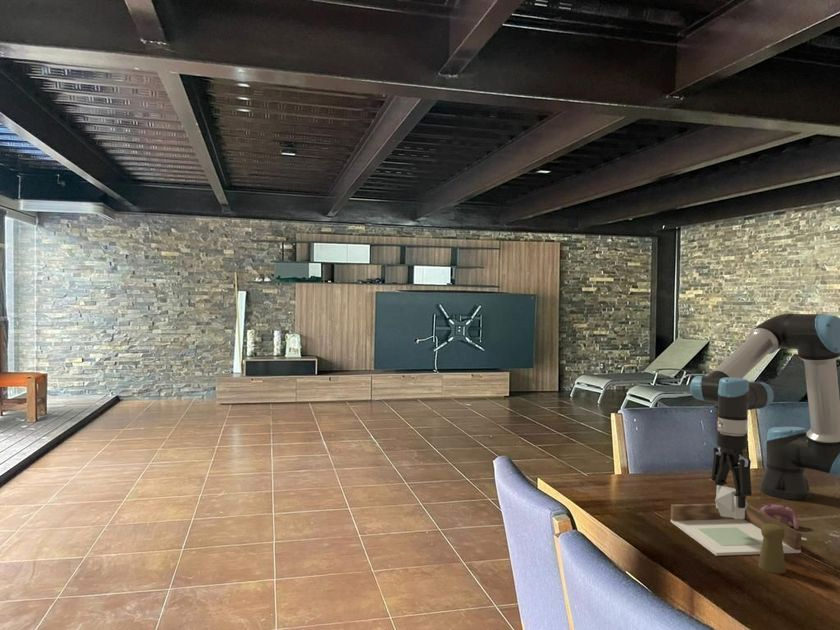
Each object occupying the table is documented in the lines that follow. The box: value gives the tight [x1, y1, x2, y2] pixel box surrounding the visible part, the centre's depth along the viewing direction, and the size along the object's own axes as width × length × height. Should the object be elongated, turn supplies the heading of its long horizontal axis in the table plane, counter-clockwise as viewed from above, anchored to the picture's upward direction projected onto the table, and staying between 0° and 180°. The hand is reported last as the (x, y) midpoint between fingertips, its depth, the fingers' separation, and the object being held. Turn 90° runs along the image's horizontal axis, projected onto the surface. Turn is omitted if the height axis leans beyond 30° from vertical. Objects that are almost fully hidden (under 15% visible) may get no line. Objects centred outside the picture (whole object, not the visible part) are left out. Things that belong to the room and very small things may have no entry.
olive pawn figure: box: [757, 524, 786, 574], centre depth 153 cm, size 6×6×11 cm
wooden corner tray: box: [670, 502, 802, 557], centre depth 174 cm, size 24×24×5 cm
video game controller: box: [759, 504, 800, 531], centre depth 183 cm, size 10×5×7 cm, turn 72°
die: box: [714, 486, 749, 518], centre depth 171 cm, size 8×9×10 cm
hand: (729, 512), depth 171 cm, fingers closed on die, 8 cm apart
